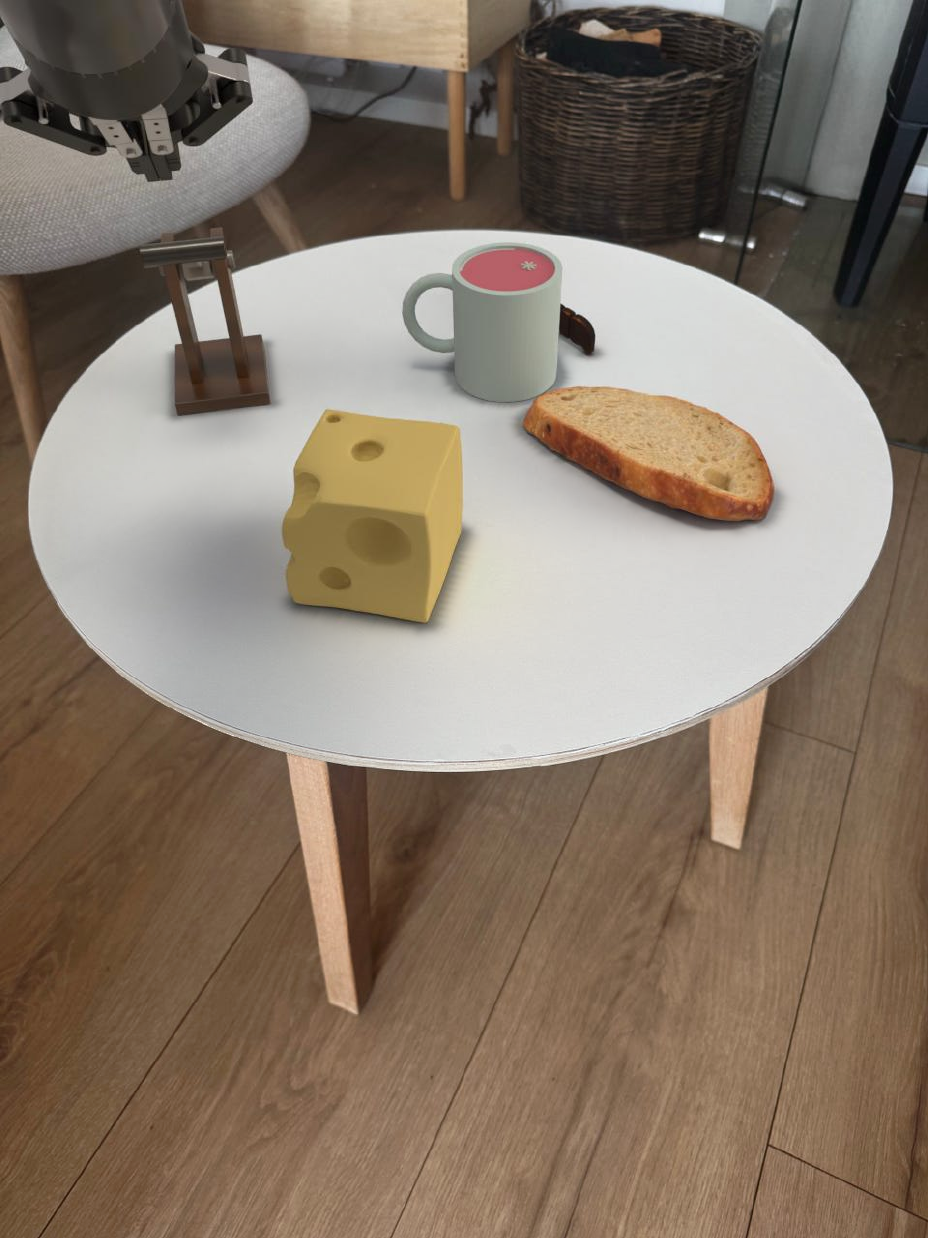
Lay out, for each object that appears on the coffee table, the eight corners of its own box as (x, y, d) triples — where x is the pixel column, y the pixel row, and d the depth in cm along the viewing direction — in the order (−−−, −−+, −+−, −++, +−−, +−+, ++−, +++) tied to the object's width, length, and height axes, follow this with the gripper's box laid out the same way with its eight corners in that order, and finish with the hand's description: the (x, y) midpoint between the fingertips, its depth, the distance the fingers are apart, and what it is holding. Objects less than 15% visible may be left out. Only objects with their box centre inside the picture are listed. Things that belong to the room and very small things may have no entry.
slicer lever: (227, 263, 72) (221, 228, 71) (143, 273, 71) (136, 237, 71) (236, 275, 84) (231, 245, 83) (164, 283, 83) (158, 252, 82)
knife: (477, 286, 101) (477, 258, 98) (484, 283, 101) (484, 255, 99) (587, 356, 91) (590, 327, 89) (595, 353, 91) (598, 323, 89)
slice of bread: (517, 406, 86) (518, 368, 83) (721, 391, 87) (729, 353, 84) (550, 543, 73) (553, 504, 71) (788, 525, 74) (799, 485, 72)
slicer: (270, 404, 87) (244, 264, 77) (177, 415, 86) (140, 275, 76) (263, 345, 93) (239, 210, 84) (177, 355, 92) (142, 220, 83)
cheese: (290, 606, 69) (267, 494, 62) (339, 509, 76) (324, 398, 69) (434, 630, 67) (428, 517, 60) (470, 528, 75) (468, 417, 67)
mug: (560, 348, 92) (566, 244, 85) (551, 405, 86) (557, 298, 78) (415, 339, 94) (409, 236, 86) (396, 394, 87) (388, 288, 80)
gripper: (228, -120, 42) (260, 92, 59) (-98, -101, 41) (32, 111, 58) (256, 57, 42) (279, 217, 60) (-68, 83, 41) (53, 240, 58)
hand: (157, 164), depth 59 cm, fingers closed
